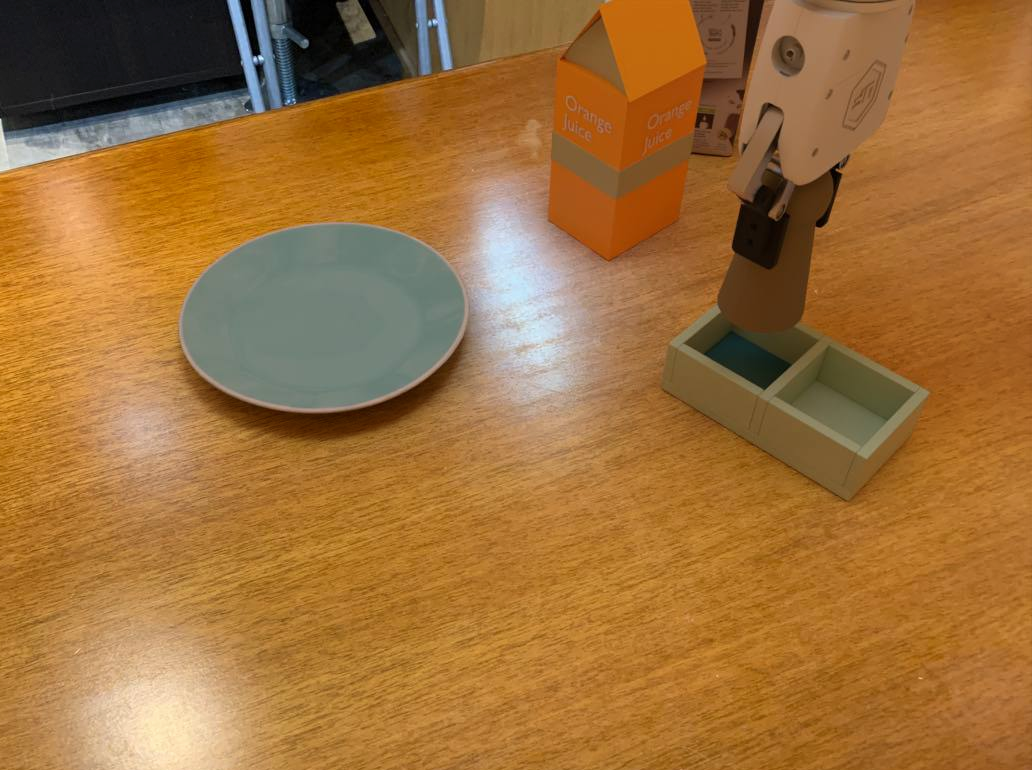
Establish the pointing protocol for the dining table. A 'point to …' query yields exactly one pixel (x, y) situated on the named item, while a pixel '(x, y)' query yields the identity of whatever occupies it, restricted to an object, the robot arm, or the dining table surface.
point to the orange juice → (625, 123)
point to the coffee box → (723, 69)
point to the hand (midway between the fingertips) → (779, 235)
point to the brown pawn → (782, 290)
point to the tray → (796, 397)
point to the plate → (323, 317)
